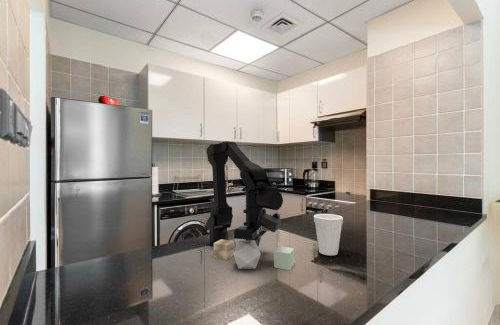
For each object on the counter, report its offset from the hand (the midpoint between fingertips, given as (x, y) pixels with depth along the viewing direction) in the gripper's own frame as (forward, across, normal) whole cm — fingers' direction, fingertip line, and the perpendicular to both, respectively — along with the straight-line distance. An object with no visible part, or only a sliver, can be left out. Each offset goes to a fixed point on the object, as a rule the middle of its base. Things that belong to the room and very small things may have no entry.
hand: (254, 254), depth 79 cm
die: (+2, -6, 0) cm, 6 cm away
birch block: (+2, -1, +11) cm, 11 cm away
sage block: (+2, 0, -10) cm, 10 cm away
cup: (+2, +17, -21) cm, 27 cm away
